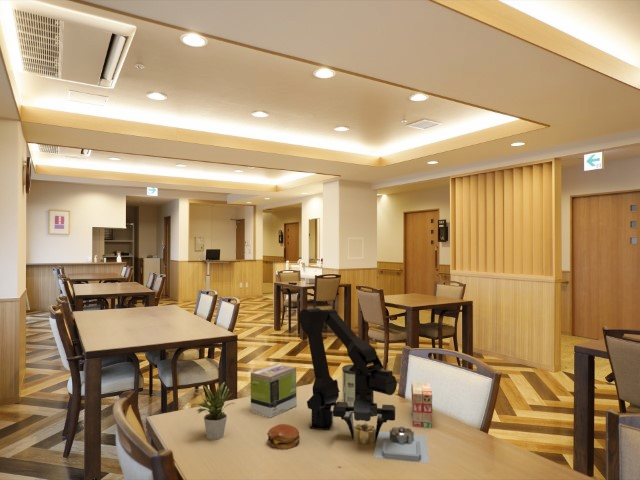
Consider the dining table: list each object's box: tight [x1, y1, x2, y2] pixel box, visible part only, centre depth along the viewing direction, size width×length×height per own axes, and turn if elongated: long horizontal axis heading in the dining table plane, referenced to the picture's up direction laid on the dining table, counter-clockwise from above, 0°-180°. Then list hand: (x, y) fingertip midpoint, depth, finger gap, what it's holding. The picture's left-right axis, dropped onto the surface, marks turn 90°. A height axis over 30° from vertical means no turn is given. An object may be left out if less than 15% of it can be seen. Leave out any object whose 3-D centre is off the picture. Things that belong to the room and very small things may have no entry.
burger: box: [266, 423, 301, 450], centre depth 133 cm, size 10×9×5 cm
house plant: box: [193, 381, 236, 441], centre depth 139 cm, size 14×14×16 cm
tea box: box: [250, 363, 298, 419], centre depth 161 cm, size 15×10×15 cm, turn 144°
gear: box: [389, 426, 415, 445], centre depth 133 cm, size 7×7×3 cm
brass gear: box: [353, 423, 376, 445], centre depth 133 cm, size 7×7×5 cm
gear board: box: [373, 431, 430, 464], centre depth 129 cm, size 15×18×3 cm
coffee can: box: [341, 363, 355, 407], centre depth 166 cm, size 10×10×14 cm
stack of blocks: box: [410, 381, 433, 429], centre depth 153 cm, size 21×6×12 cm, turn 169°
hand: (364, 439), depth 133 cm, fingers closed on brass gear, 7 cm apart
